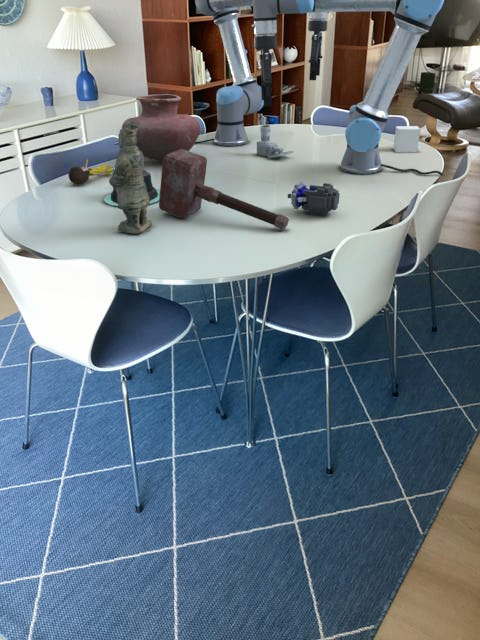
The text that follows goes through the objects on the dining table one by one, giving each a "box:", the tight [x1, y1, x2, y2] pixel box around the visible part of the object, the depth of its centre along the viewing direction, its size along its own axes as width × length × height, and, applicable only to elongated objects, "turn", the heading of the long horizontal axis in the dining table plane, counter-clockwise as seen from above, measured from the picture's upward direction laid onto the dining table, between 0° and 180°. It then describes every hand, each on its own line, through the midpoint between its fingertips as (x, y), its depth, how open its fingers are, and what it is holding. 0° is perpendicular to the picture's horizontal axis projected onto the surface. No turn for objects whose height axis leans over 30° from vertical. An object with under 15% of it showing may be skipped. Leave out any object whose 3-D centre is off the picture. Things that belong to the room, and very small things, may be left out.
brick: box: [392, 125, 421, 153], centre depth 233 cm, size 9×6×9 cm
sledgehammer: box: [158, 149, 290, 231], centre depth 163 cm, size 17×10×40 cm
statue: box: [108, 121, 153, 235], centre depth 154 cm, size 11×9×30 cm
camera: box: [256, 124, 295, 159], centre depth 227 cm, size 9×12×15 cm
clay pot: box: [121, 93, 201, 163], centre depth 222 cm, size 30×30×25 cm
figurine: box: [67, 158, 115, 186], centre depth 207 cm, size 13×8×25 cm
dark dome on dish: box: [103, 168, 160, 207], centre depth 186 cm, size 15×19×20 cm
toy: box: [287, 180, 341, 216], centre depth 168 cm, size 9×9×15 cm
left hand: (314, 77), depth 231 cm, fingers open, 13 cm apart
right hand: (266, 103), depth 195 cm, fingers open, 13 cm apart
